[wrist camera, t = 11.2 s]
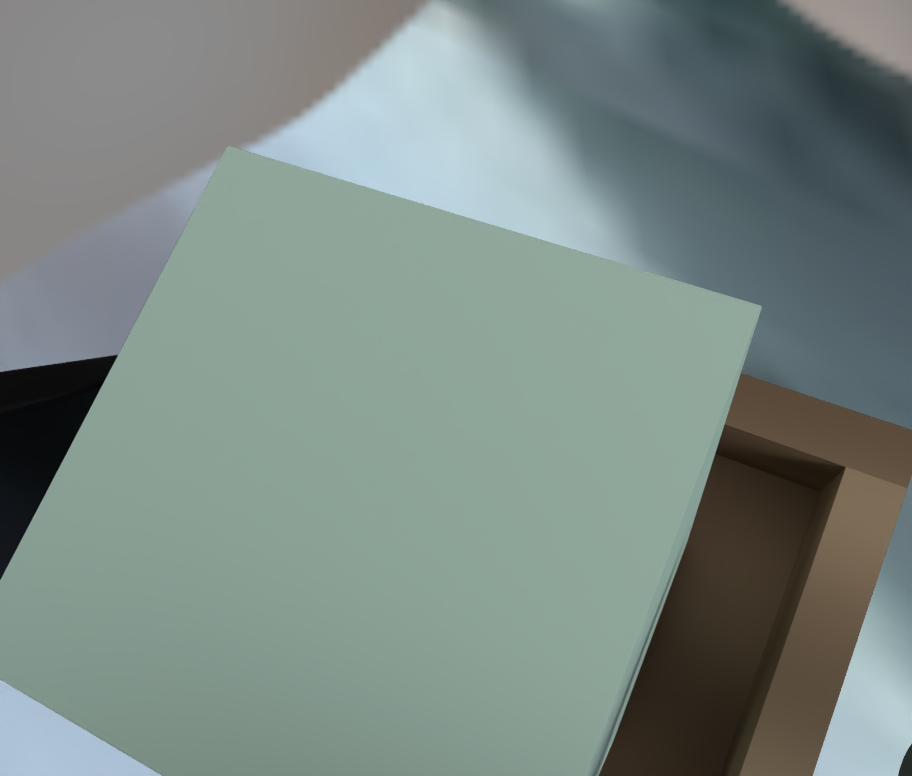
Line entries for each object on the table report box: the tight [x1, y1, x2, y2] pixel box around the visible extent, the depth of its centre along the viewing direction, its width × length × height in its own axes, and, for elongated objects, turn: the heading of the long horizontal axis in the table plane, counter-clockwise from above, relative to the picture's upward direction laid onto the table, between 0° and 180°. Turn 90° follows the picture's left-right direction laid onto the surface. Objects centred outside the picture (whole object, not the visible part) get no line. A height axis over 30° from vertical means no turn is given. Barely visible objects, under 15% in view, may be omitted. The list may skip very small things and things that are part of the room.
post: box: [0, 146, 762, 776], centre depth 12 cm, size 4×4×13 cm
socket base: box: [598, 374, 912, 776], centre depth 17 cm, size 10×10×3 cm
